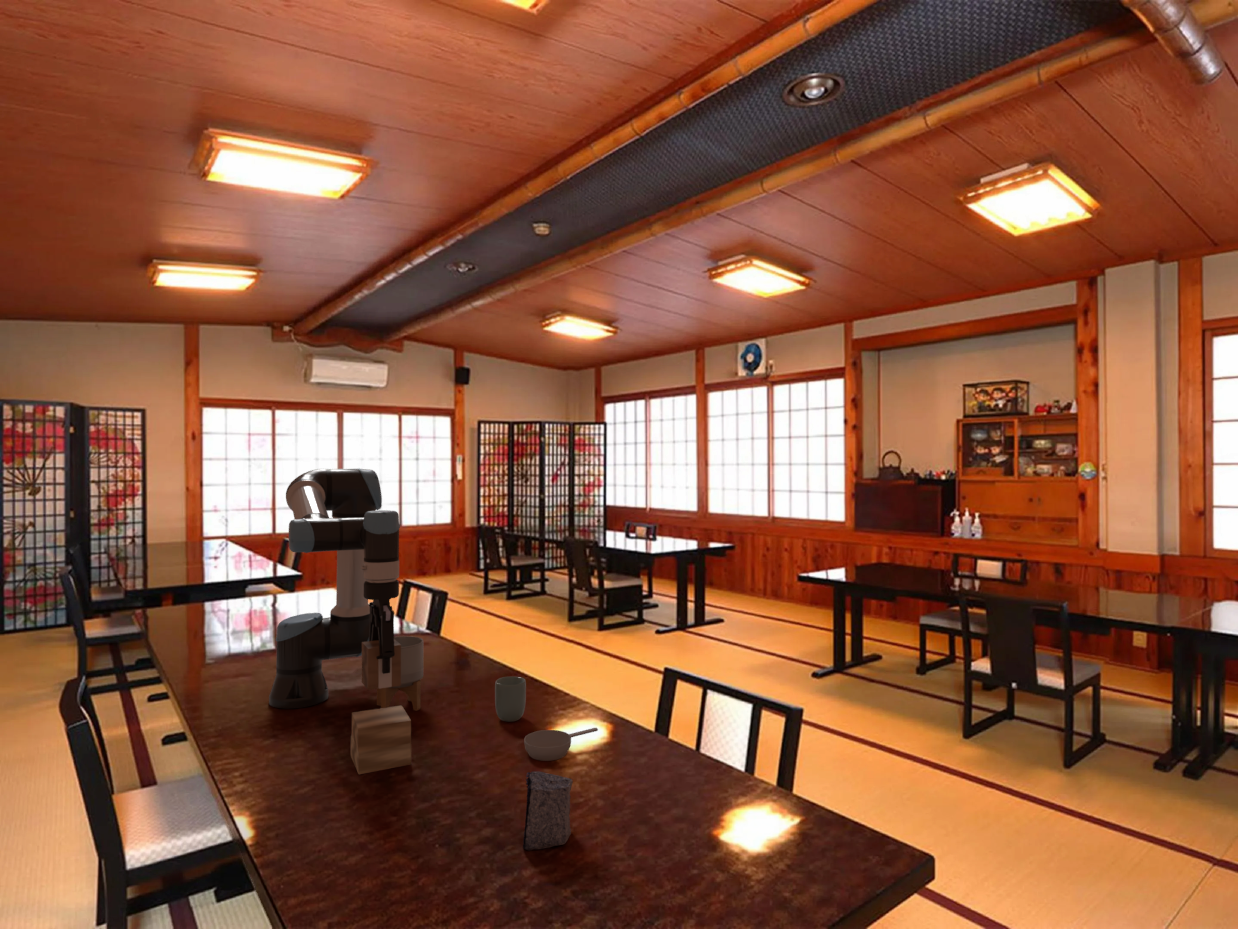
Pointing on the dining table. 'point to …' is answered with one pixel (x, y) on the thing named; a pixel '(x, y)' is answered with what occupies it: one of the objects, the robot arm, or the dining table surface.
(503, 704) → the cup
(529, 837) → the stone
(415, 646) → the planter
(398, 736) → the tower upper
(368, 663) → the walnut block
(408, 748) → the tower lower
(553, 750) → the saucepan
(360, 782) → the dining table surface
